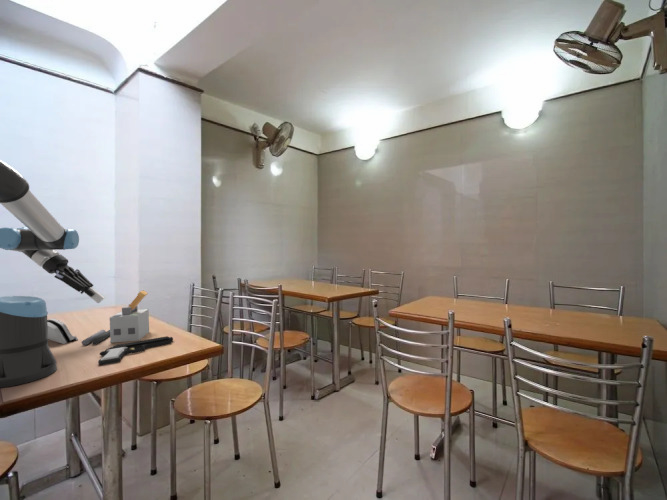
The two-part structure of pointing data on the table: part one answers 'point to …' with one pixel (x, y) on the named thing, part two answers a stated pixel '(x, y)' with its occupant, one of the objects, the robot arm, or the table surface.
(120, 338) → the breaker box
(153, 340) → the handgun
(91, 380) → the table surface
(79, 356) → the table surface
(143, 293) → the lever
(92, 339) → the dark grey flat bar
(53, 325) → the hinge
